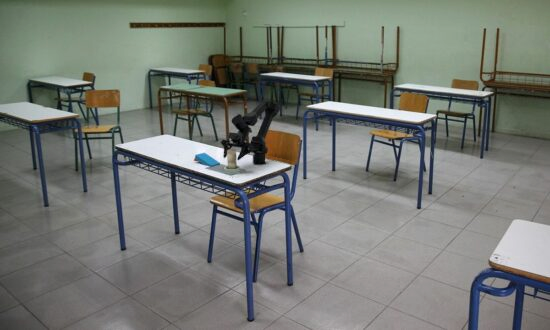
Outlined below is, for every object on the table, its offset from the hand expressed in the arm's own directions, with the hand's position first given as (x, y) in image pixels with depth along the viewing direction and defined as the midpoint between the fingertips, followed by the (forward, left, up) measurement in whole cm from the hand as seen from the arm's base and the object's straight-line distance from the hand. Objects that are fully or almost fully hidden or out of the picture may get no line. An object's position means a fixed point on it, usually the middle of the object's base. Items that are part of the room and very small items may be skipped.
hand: (230, 158), depth 253 cm
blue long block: (+10, -25, -9) cm, 28 cm away
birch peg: (-1, -1, -8) cm, 8 cm away
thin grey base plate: (+2, -7, -9) cm, 11 cm away
